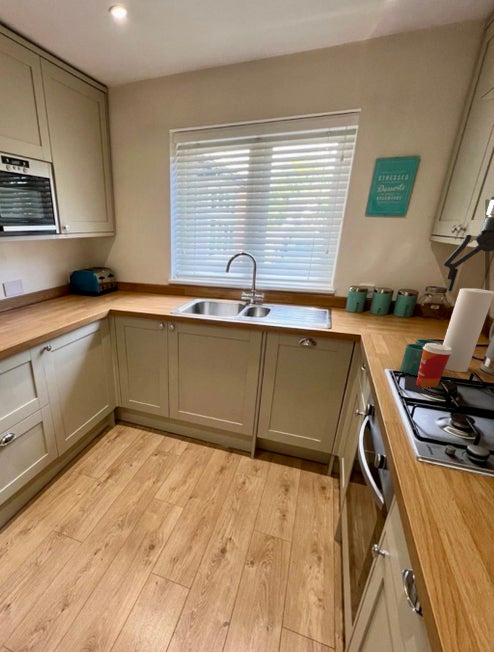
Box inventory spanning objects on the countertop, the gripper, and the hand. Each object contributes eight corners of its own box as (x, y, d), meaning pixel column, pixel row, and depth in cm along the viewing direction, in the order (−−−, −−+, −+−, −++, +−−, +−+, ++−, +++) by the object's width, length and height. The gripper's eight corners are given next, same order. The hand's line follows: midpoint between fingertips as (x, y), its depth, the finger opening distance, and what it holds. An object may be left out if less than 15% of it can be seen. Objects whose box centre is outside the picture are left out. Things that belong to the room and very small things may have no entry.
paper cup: (416, 379, 115) (428, 340, 110) (443, 387, 109) (456, 347, 104) (408, 385, 110) (420, 345, 105) (436, 393, 104) (449, 352, 100)
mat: (446, 385, 111) (447, 384, 111) (449, 399, 102) (450, 398, 102) (404, 376, 117) (405, 375, 117) (404, 389, 108) (404, 388, 108)
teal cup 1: (423, 371, 122) (431, 346, 119) (424, 378, 116) (432, 352, 113) (400, 367, 126) (406, 342, 122) (399, 373, 120) (406, 347, 117)
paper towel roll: (471, 369, 126) (499, 290, 115) (460, 373, 121) (488, 292, 111) (443, 360, 133) (467, 286, 123) (432, 365, 129) (455, 287, 118)
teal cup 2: (432, 366, 128) (439, 341, 124) (433, 372, 122) (441, 346, 118) (409, 361, 132) (416, 337, 128) (409, 367, 126) (416, 342, 122)
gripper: (448, 216, 95) (428, 290, 103) (572, 216, 83) (538, 300, 90) (446, 217, 101) (426, 286, 109) (561, 217, 89) (530, 295, 96)
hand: (477, 293), depth 99 cm, fingers open, 13 cm apart
